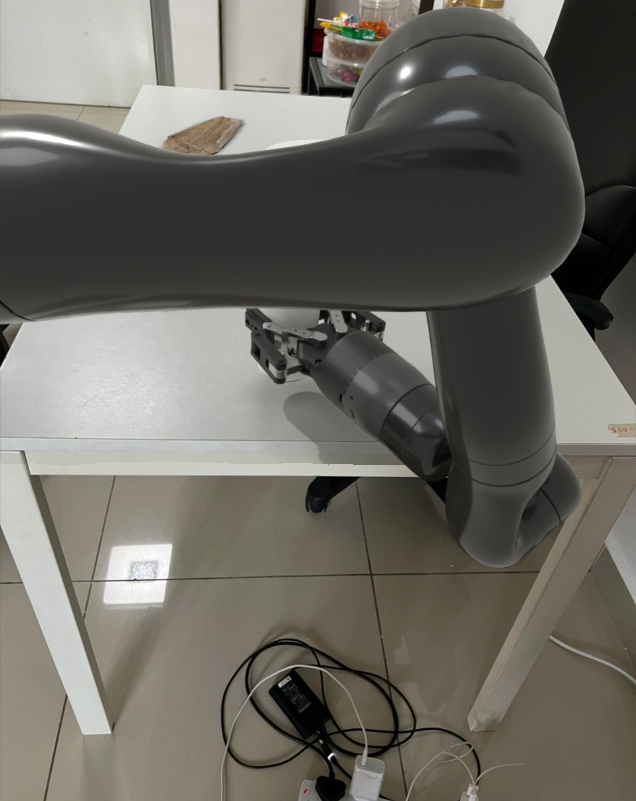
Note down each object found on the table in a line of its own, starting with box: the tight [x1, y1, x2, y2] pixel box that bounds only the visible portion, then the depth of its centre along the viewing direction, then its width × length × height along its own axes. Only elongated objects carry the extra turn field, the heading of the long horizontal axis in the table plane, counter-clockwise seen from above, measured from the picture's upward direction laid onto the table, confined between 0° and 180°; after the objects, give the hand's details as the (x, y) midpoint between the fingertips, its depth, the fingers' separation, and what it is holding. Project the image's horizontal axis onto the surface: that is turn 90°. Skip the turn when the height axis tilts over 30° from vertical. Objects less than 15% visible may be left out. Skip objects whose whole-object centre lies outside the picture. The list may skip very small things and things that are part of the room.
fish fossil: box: [162, 115, 243, 155], centre depth 132 cm, size 26×10×1 cm, turn 167°
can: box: [256, 308, 320, 383], centre depth 69 cm, size 6×6×12 cm
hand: (276, 303), depth 69 cm, fingers closed on can, 6 cm apart
